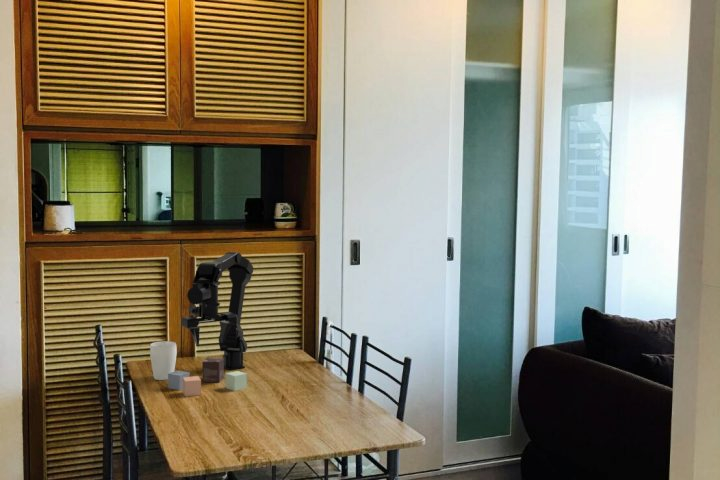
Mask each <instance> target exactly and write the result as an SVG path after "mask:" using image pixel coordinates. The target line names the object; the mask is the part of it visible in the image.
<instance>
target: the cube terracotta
mask: <svg viewBox="0 0 720 480" xmlns="http://www.w3.org/2000/svg"><path fill="white" fill-rule="evenodd" d="M182 393H183V395H184V397H193V396H201V395H202V379H201V378H200V377H199V375H196V376H190V377H183V389H182Z"/></svg>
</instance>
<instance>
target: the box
mask: <svg viewBox="0 0 720 480" xmlns="http://www.w3.org/2000/svg"><path fill="white" fill-rule="evenodd" d="M201 367H202V382H203V383H220V382H221V381H222V380H224V378H225V377H224V376H225V374H224V371H225V368H224V358H223V357H206V358H205V359H204V360H202V363H201Z"/></svg>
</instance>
